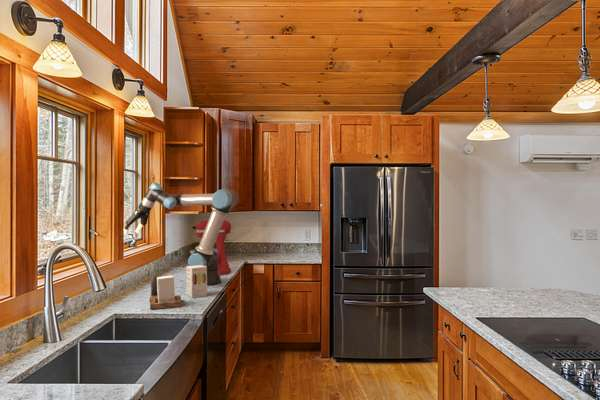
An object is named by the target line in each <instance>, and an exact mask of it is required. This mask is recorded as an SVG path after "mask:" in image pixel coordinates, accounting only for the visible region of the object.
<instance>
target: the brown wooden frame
mask: <svg viewBox="0 0 600 400" xmlns="http://www.w3.org/2000/svg"><path fill="white" fill-rule="evenodd" d="M157 277H158V275H157V274H151V275H150V294H149V295H150V297H149V304H150V305H149V308H150V310H157V309H159V310H160V309H167V308H169V309H170V308H179V307H180V308H181V307H182V295H181V294H177V295H176V294H175V301H171V302H160V303H158V291H157Z"/></svg>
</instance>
